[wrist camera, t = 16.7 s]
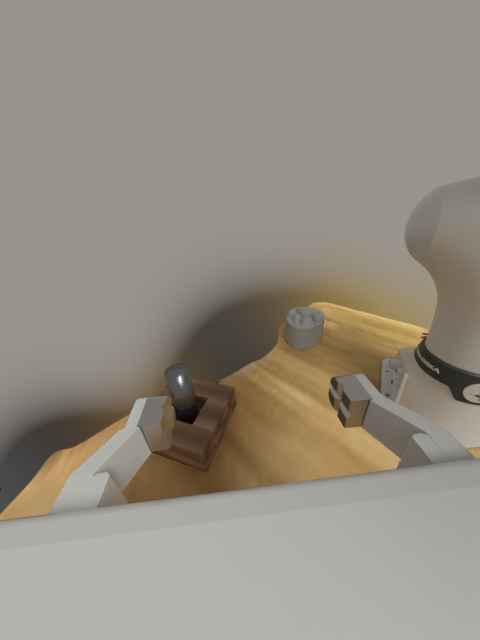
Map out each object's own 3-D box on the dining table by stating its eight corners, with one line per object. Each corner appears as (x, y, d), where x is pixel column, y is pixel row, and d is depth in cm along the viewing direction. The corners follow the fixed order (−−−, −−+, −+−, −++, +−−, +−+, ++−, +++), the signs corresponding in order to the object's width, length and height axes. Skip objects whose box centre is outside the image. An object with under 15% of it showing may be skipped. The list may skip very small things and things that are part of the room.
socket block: (180, 391, 51) (176, 375, 49) (236, 404, 47) (234, 387, 45) (138, 447, 40) (130, 430, 38) (206, 472, 35) (202, 454, 33)
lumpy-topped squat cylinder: (324, 330, 70) (327, 306, 66) (314, 353, 60) (318, 326, 56) (292, 324, 75) (294, 301, 71) (279, 344, 65) (279, 319, 61)
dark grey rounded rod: (187, 410, 45) (173, 361, 39) (204, 414, 44) (193, 365, 38) (176, 427, 42) (159, 377, 36) (194, 432, 41) (180, 381, 34)
